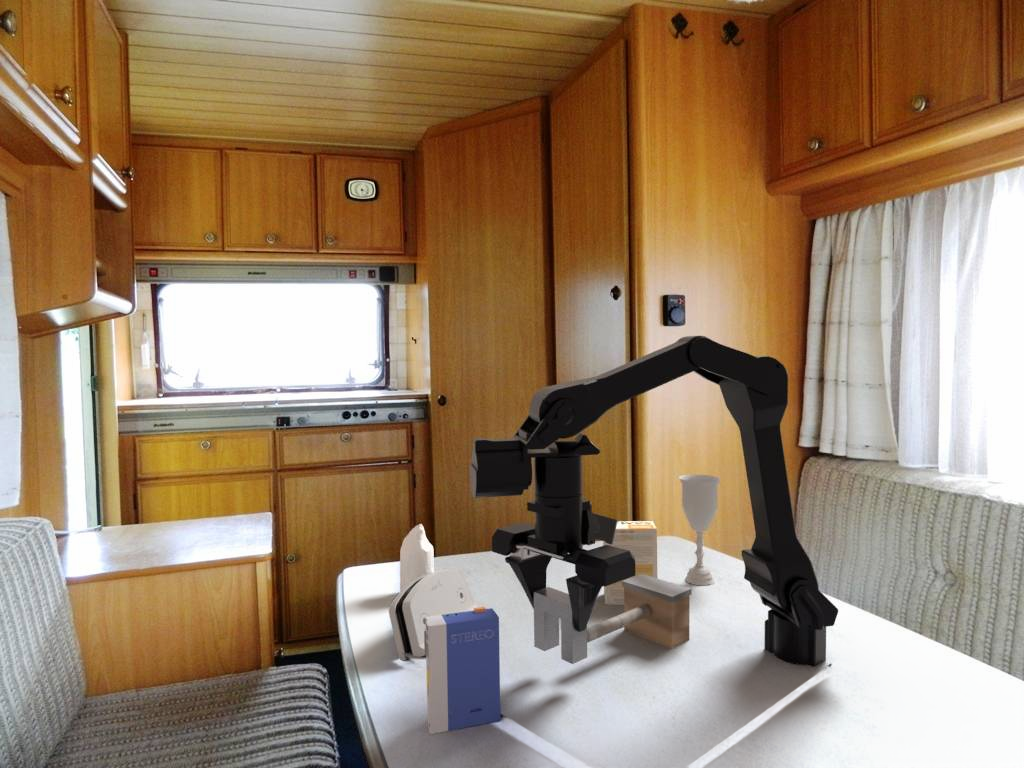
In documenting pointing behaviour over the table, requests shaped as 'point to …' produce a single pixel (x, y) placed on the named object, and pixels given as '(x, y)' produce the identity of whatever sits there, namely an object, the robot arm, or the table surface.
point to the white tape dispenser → (426, 607)
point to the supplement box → (634, 553)
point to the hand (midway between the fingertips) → (560, 622)
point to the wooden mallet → (650, 612)
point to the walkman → (462, 669)
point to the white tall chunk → (415, 556)
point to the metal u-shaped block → (557, 625)
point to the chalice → (699, 518)
